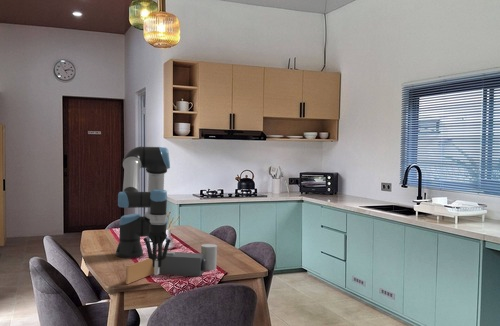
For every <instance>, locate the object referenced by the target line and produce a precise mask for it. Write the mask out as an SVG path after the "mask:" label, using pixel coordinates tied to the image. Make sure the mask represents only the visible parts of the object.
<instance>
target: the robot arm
mask: <svg viewBox="0 0 500 326" xmlns="http://www.w3.org/2000/svg"><path fill="white" fill-rule="evenodd" d="M122 167H123V169H124V171H123V184H122V191H119V192H118V194H117V206H118V207H119V208H123V209H124V208H125V209H129V208H132V209H134V208H137V209H138V208H145V209H146V208H147V211H146V212H145V213H144V216H143V215H141V213H130V214H125V215H122V216H121V217H120V218H119V224H118V225H119V235H118V236H119V237H118V238H119V240H118V241H119V242H118V245H117V248H116V249H115V256H116V257H118V258H124V259H126V258H127V259H131V258H133V259H134V258H140V257H143V256H144V250H143V246H142V243H141V237H143V241H144V243H145V247H146V252H147V256H148V259H152V260H153V267H155V269H154V274H153V276H154V275H155V276H158V275H160V274H159V267H161V266H162V265H161V264H162V260H164V259H165V258H166V255H167V252H169V251H168V250H169V246H170V244H171V243H172V240H173V239H172V238H169V237H168V233H167V229H168V222H169V221H168V219H169V217H168V216H167V208H168V207H167V206H168V205H167V203H168V191H167V190H166V189H164V188H165V174H166V173H168V170H169V169H170V168H171V164H170V153H169V149H168V148H167V147H165V146H164V147H161V146H137V147H134V148H132V149H130V150H129V151H128V152H127V153H126V154H125V155H124V158H123V159H122ZM140 169H145V172H146V173H148V180H147V181H148V184H147V185H148V186H147V191H140ZM150 241H151V242H150ZM164 242H165V243H164ZM151 243H152V245H151ZM163 243H164V244H165V245H164V247H163ZM162 252H163V255H162ZM157 255H158V259H157Z"/></svg>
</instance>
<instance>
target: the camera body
mask: <svg viewBox="0 0 500 326" xmlns="http://www.w3.org/2000/svg"><path fill="white" fill-rule="evenodd" d="M162 255H163V251H162ZM157 259H158V254H157ZM161 265H162V266H161V267H159V274H158V275H172V276H188V277H201V276H202V275H203V273H204V272H206V271H207V270H206V265H207V261H206V259H205V254H202V253H201V252H200V253H199V252H198V253H197V252H184V251H183V252H181V251H167V255H166V258H165V259H164V260H162V264H161Z"/></svg>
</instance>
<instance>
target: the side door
mask: <svg viewBox="0 0 500 326" xmlns="http://www.w3.org/2000/svg"><path fill="white" fill-rule="evenodd" d="M125 268H126V269H125V284H126V285H128V284H132V283H133V282H136V281H139V280H140V279H143V278H146V277H148V276H150V275H154V269H155V267H153V260H152V259H149V258H147V259H143V260H140V261H138V262H135V263H131V264H129V265H126V266H125Z"/></svg>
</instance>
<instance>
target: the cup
mask: <svg viewBox="0 0 500 326" xmlns="http://www.w3.org/2000/svg"><path fill="white" fill-rule="evenodd" d="M217 251H218V245H217V244H215V243H203V244H201V246H200V253H202V254H205V259H206V261H207V265H206V270H205V271H215V270H216V269H217V256H218V252H217Z"/></svg>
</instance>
